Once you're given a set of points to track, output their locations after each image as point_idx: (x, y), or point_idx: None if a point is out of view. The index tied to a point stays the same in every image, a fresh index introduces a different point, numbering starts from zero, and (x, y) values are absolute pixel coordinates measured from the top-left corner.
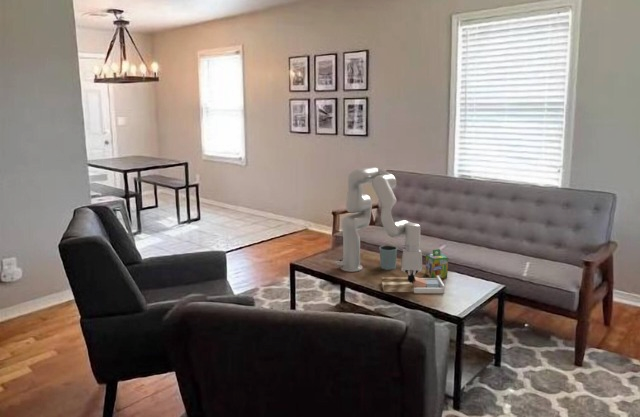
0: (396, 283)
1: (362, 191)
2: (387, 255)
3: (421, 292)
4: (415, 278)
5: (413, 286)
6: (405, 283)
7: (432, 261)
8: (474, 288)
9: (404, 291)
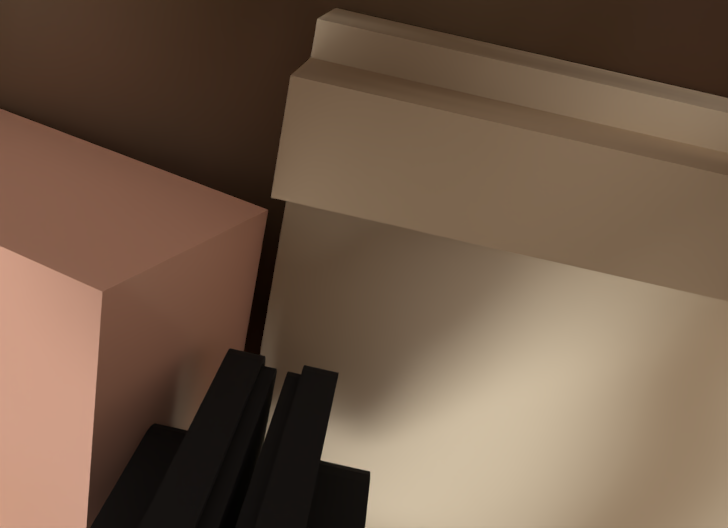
0: (698, 519)
1: None
2: None
3: None
4: (70, 486)
5: (309, 66)
6: (434, 461)
7: None
8: None
9: (623, 78)
